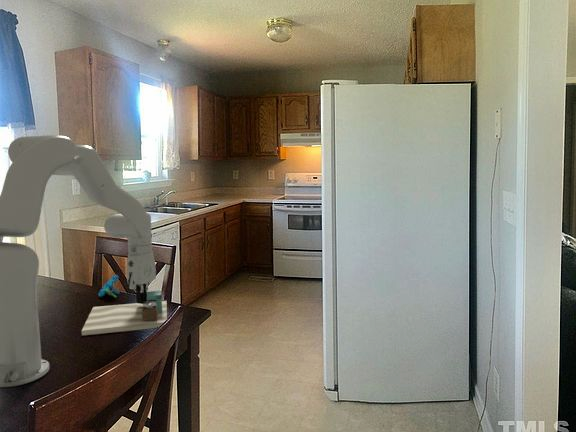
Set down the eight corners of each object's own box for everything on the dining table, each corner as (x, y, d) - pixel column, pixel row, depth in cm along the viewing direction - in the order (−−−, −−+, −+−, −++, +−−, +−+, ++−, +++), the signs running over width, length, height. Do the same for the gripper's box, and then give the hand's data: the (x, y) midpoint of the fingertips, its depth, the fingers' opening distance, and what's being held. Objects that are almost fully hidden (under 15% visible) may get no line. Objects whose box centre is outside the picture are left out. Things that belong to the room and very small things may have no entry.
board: (167, 326, 134) (167, 322, 134) (81, 335, 128) (81, 330, 128) (166, 304, 155) (166, 300, 155) (93, 311, 149) (93, 307, 149)
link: (156, 319, 135) (156, 308, 135) (142, 320, 134) (142, 309, 134) (159, 301, 152) (159, 291, 152) (147, 302, 151) (146, 292, 151)
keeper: (162, 312, 143) (161, 294, 142) (147, 313, 142) (146, 296, 141) (162, 307, 148) (161, 290, 147) (148, 308, 146) (147, 291, 146)
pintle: (156, 320, 135) (156, 304, 135) (143, 322, 134) (142, 306, 134) (157, 316, 139) (156, 300, 138) (143, 317, 138) (143, 302, 137)
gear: (98, 288, 171) (116, 269, 171) (110, 297, 173) (128, 279, 173) (94, 300, 161) (114, 280, 161) (107, 309, 163) (127, 290, 163)
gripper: (134, 254, 139) (136, 310, 141) (162, 246, 153) (164, 298, 155) (115, 252, 141) (117, 308, 143) (144, 245, 155) (146, 296, 157)
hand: (141, 302), depth 149 cm, fingers closed
